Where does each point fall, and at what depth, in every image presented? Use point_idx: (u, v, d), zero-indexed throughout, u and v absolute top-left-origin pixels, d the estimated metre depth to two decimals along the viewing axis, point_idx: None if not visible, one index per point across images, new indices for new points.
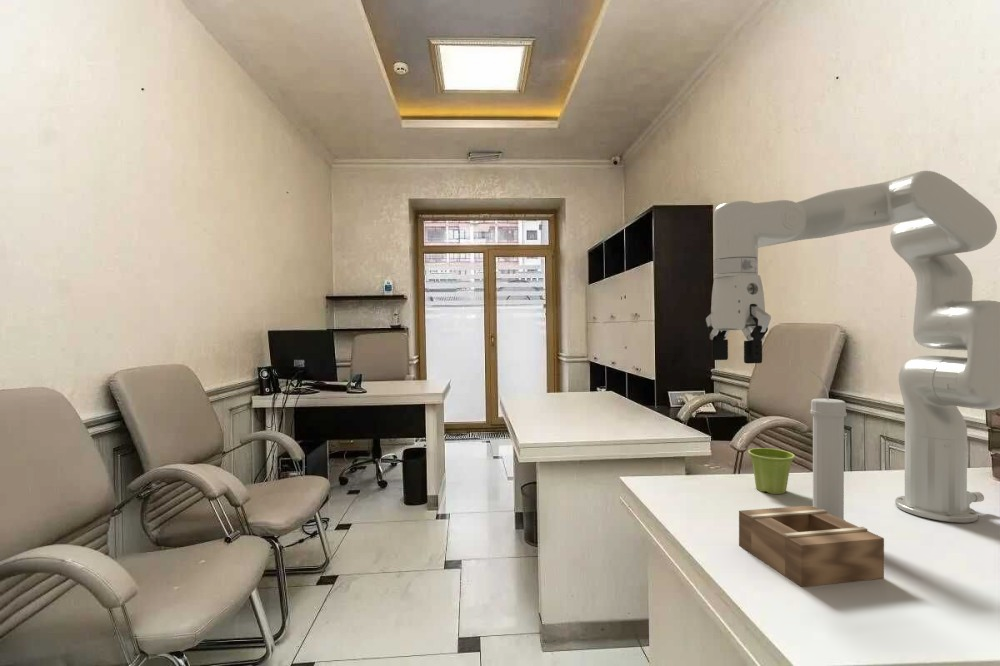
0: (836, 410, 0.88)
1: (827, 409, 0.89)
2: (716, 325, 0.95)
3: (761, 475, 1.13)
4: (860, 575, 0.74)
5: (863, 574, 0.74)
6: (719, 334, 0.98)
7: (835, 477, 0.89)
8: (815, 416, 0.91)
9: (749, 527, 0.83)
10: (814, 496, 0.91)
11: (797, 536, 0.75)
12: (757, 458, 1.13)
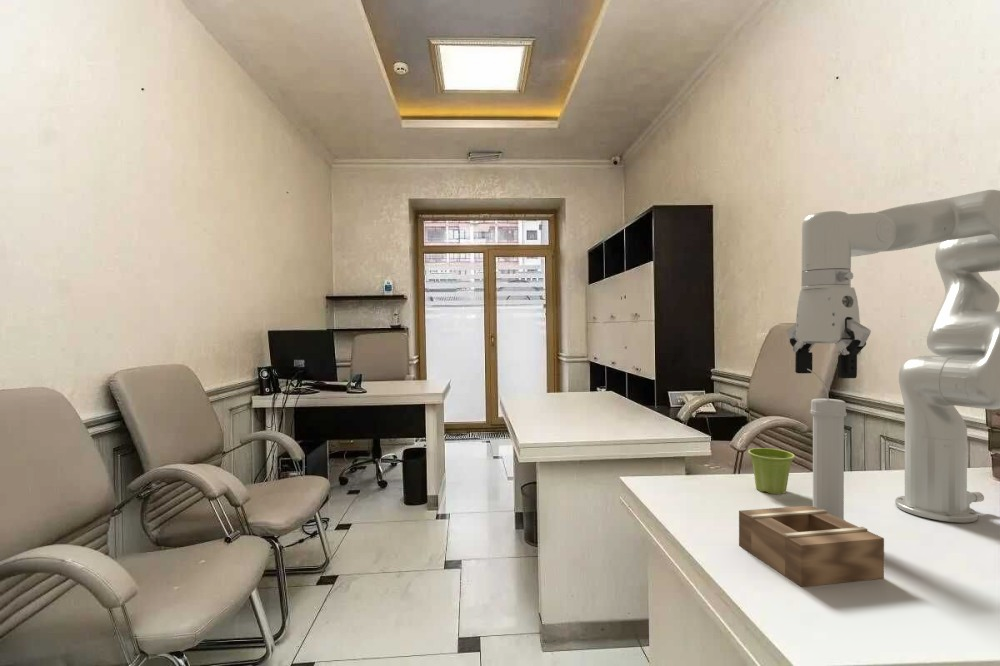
0: (836, 410, 0.88)
1: (827, 409, 0.89)
2: (803, 338, 0.93)
3: (761, 475, 1.13)
4: (860, 575, 0.74)
5: (863, 574, 0.74)
6: (803, 347, 0.96)
7: (835, 477, 0.89)
8: (815, 416, 0.91)
9: (749, 527, 0.83)
10: (814, 496, 0.91)
11: (797, 536, 0.75)
12: (757, 458, 1.13)
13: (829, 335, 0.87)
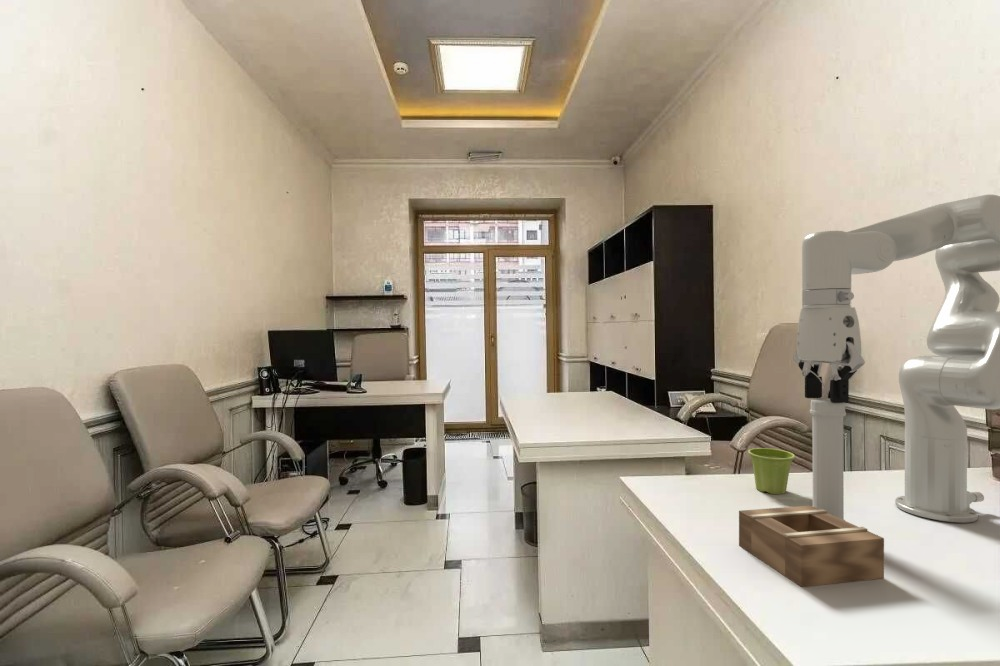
0: (835, 409, 0.88)
1: (826, 409, 0.89)
2: (804, 356, 0.93)
3: (761, 476, 1.13)
4: (860, 575, 0.74)
5: (863, 574, 0.74)
6: (812, 371, 0.94)
7: (834, 477, 0.89)
8: (814, 416, 0.91)
9: (749, 527, 0.83)
10: (814, 496, 0.91)
11: (797, 536, 0.75)
12: (757, 458, 1.13)
13: (830, 355, 0.87)
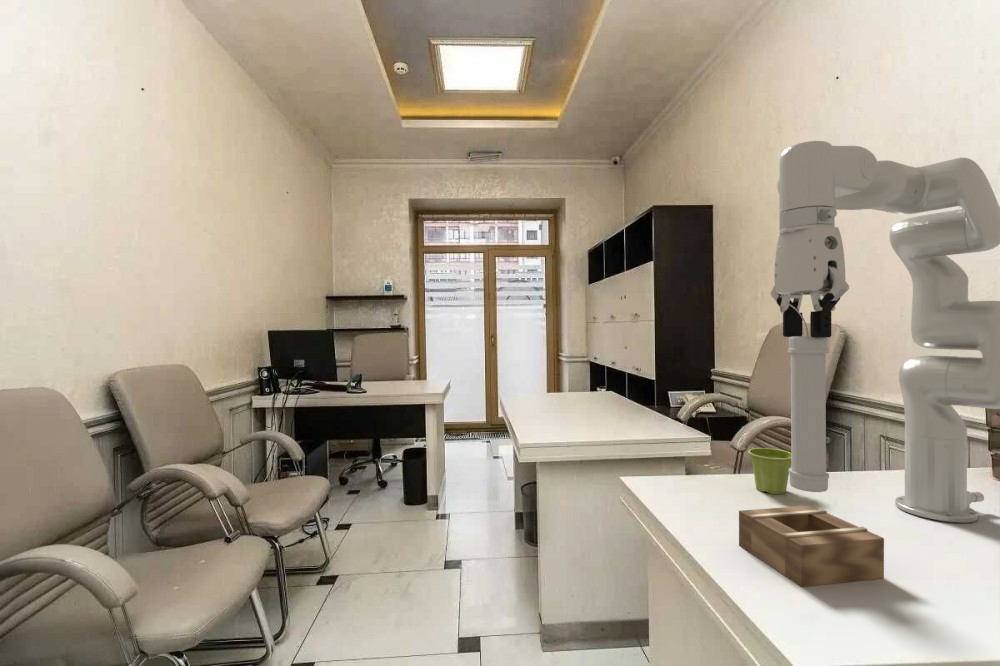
0: (816, 345, 0.77)
1: (806, 345, 0.78)
2: (782, 289, 0.82)
3: (760, 476, 1.13)
4: (860, 575, 0.74)
5: (863, 574, 0.74)
6: None
7: (815, 423, 0.78)
8: (793, 355, 0.80)
9: (749, 527, 0.83)
10: (792, 446, 0.80)
11: (797, 536, 0.75)
12: (757, 458, 1.13)
13: (810, 282, 0.76)
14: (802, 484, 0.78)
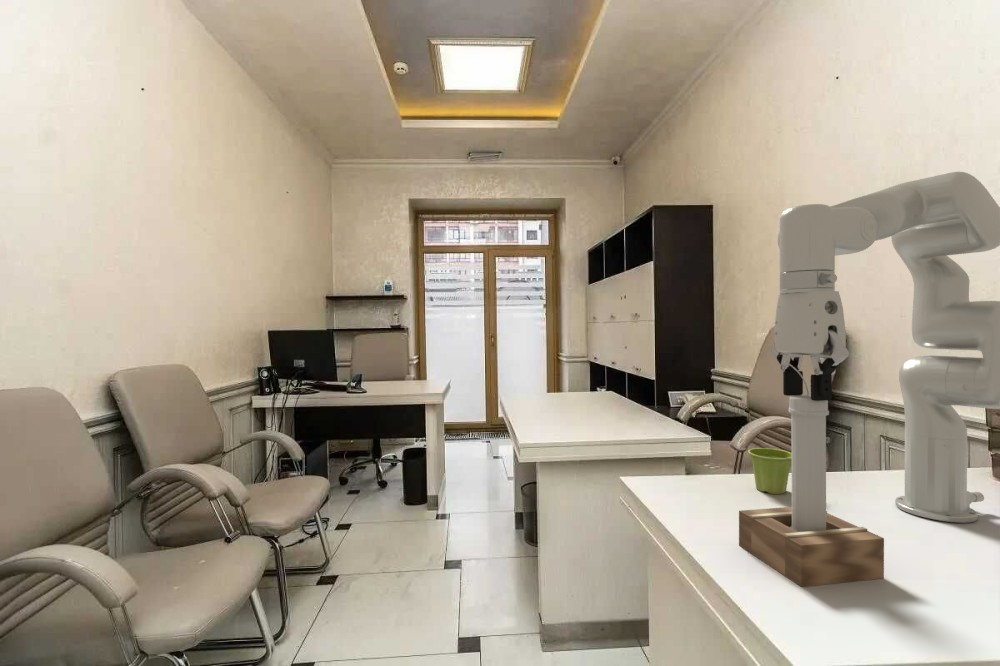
0: (816, 408, 0.77)
1: (806, 407, 0.78)
2: (782, 348, 0.82)
3: (760, 475, 1.13)
4: (860, 575, 0.74)
5: (863, 574, 0.74)
6: (792, 365, 0.83)
7: (816, 485, 0.78)
8: (793, 415, 0.80)
9: (749, 527, 0.83)
10: (793, 506, 0.80)
11: (797, 536, 0.75)
12: (757, 458, 1.13)
13: (810, 346, 0.76)
14: None
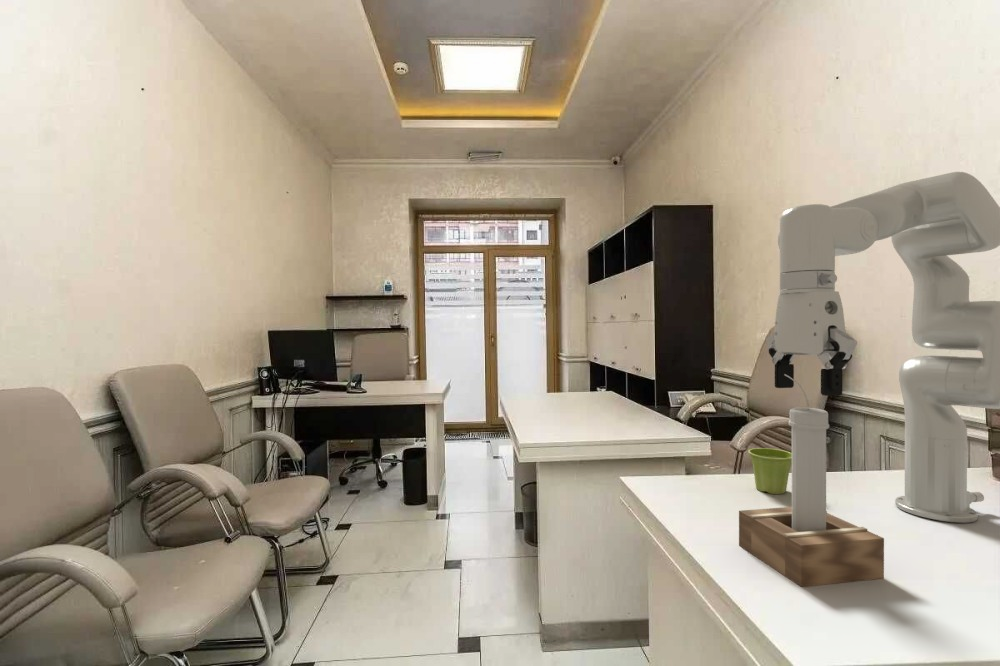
0: (817, 421, 0.77)
1: (807, 421, 0.78)
2: (782, 348, 0.82)
3: (761, 475, 1.13)
4: (860, 575, 0.74)
5: (863, 574, 0.74)
6: (783, 358, 0.85)
7: (816, 498, 0.78)
8: (794, 428, 0.80)
9: (749, 527, 0.83)
10: (793, 518, 0.80)
11: (797, 536, 0.75)
12: (757, 458, 1.13)
13: (810, 346, 0.76)
14: None
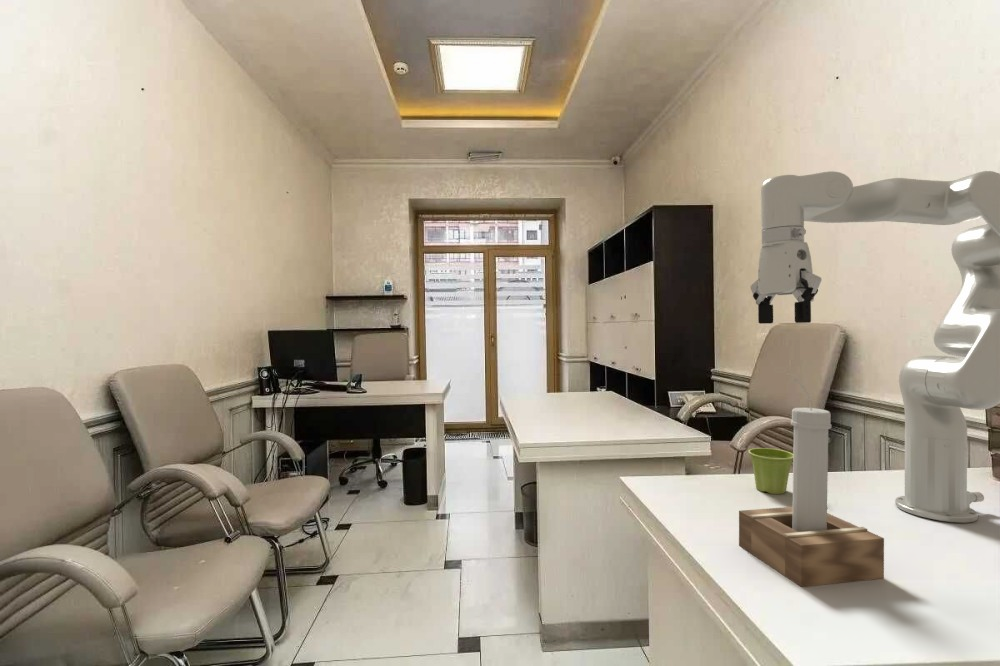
0: (819, 421, 0.77)
1: (809, 420, 0.78)
2: (764, 290, 1.03)
3: (761, 475, 1.13)
4: (860, 575, 0.74)
5: (863, 574, 0.74)
6: (765, 300, 1.06)
7: (817, 498, 0.78)
8: (796, 428, 0.80)
9: (749, 527, 0.83)
10: (794, 518, 0.80)
11: (797, 536, 0.75)
12: (758, 458, 1.13)
13: (786, 285, 0.98)
14: None
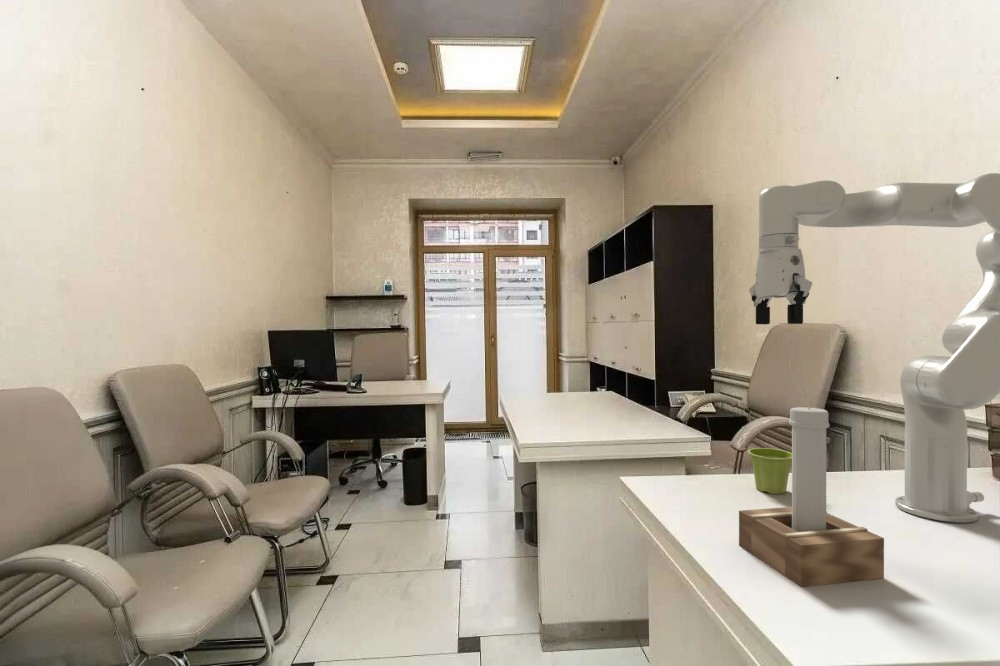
0: (817, 420, 0.78)
1: (807, 419, 0.78)
2: (761, 293, 1.10)
3: (761, 476, 1.13)
4: (860, 575, 0.74)
5: (863, 574, 0.74)
6: (762, 302, 1.13)
7: (816, 497, 0.78)
8: (794, 427, 0.80)
9: (749, 527, 0.83)
10: (793, 518, 0.81)
11: (797, 536, 0.75)
12: (757, 458, 1.13)
13: (780, 289, 1.04)
14: None
